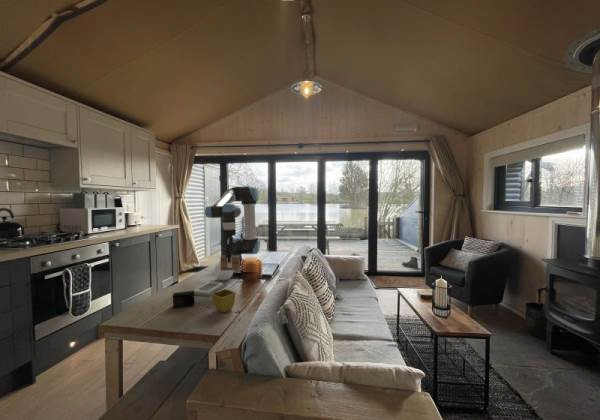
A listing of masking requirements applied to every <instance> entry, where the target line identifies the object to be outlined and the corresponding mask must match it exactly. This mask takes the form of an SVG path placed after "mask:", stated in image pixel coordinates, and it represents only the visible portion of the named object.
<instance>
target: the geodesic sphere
mask: <svg viewBox="0 0 600 420" xmlns="http://www.w3.org/2000/svg"><path fill="white" fill-rule="evenodd" d="M234 271H235V270H222V271H221V262H220V261H219V262H218V263H216V264H215V266H214V268H213V272H214V273H213V274H214V277H216V279H217V280H220V281H228V280H229V279H230V278H231V277H233V274H234Z"/></svg>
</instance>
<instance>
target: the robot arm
mask: <svg viewBox="0 0 600 420" xmlns="http://www.w3.org/2000/svg"><path fill="white" fill-rule="evenodd" d="M258 191H259V190H258V188H257V186H251V185H248V186H233V187H230V188H229V189H227V190H226V191H225V192H224V193H223V194H222V196H221V198H218V200H217V201H216V202H215V203H214V204H213V205H212V206H211V205H209V206H206V207H205V208H204V215H205V218H207V219H208V218H210V219H219V218H220V219H222V224H221V225H222V228H223V230H222V234H223V236H224V237H226V238H225V246H226V249H225V251H226V252H225V253H226V255H225V256H226V257H227V268H232V256H233V255H240V266H241V261H242V260H243V259H244V258H243V256H242V255H257V254H258V253H259V251H260V248H261V240H260V239H259V237H258V236H257V234H256V233H257V231H256V229H257V228H256V207H255V206H256V205H257V202H259V200H260V199H259V192H258ZM234 202H241V205H242V206H243V220H244V221H243V222H244V236H242V237H241V236H239V237H234V236H236V234H237V232H236V231H237V230H236V226H237V225H236V218H238V217H239V216H240V215H241V214H242V209H241V207H240V206H238V205H235V204H234ZM243 261H244V260H243Z"/></svg>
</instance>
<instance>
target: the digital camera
mask: <svg viewBox="0 0 600 420" xmlns="http://www.w3.org/2000/svg"><path fill="white" fill-rule="evenodd" d="M195 302H196V301H195V295H194V291H193V290H189V291H180V292H179V291H178V292H173V294H172V306H173V309H179V308H180V309H181V308H186V307H187V308H189V307H195Z"/></svg>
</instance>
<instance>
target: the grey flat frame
mask: <svg viewBox="0 0 600 420" xmlns="http://www.w3.org/2000/svg"><path fill="white" fill-rule="evenodd" d="M227 286H228V284H227V283H224V282H216V281H207V282H206V283H204V284H202V285H200V286H198V287H196V288H195V289H193V290H192V291H194V296H198V297H199V296H200V297H212V294H213V293H216V292H219V291H221V290H223V289H224V288H225V287H227Z"/></svg>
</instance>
